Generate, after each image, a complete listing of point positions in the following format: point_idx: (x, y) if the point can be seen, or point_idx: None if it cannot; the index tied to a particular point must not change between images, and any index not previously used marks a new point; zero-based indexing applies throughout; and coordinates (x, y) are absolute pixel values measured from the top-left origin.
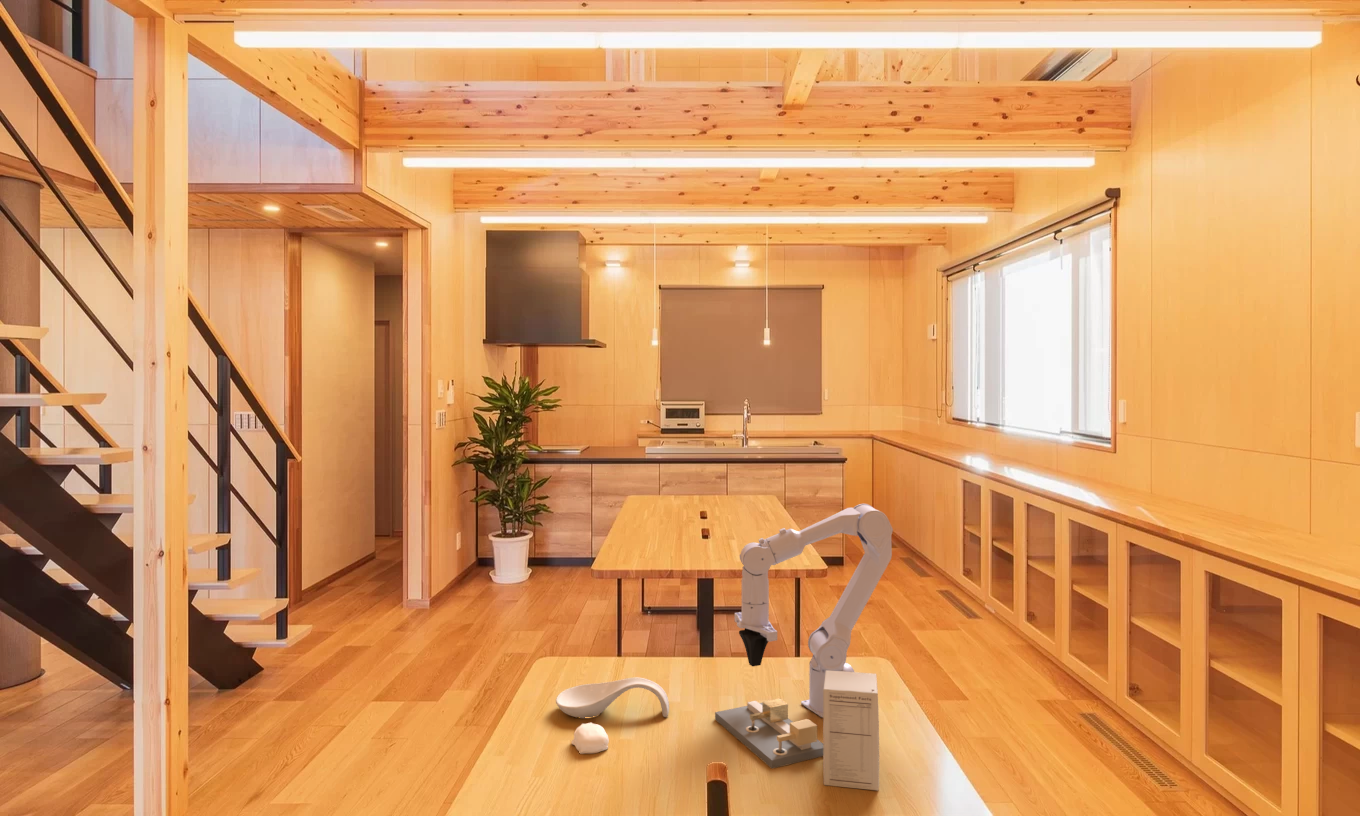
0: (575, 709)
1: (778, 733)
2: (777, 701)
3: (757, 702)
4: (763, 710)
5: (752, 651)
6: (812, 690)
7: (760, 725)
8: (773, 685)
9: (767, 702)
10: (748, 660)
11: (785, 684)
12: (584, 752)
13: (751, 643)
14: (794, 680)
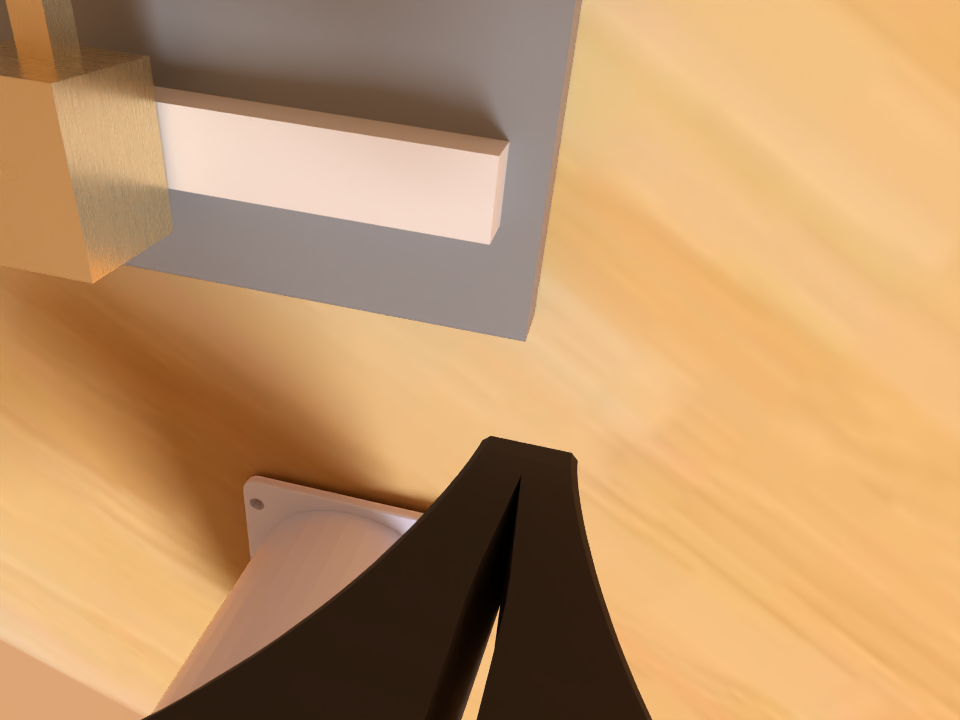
0: None
1: None
2: (34, 221)
3: (448, 231)
4: (90, 66)
5: (351, 587)
6: (306, 600)
7: (163, 10)
8: (815, 601)
9: (28, 120)
10: (569, 481)
11: (767, 651)
12: None
13: (167, 706)
14: (773, 715)
